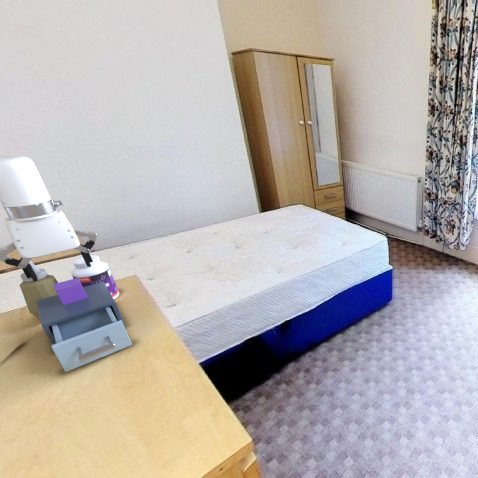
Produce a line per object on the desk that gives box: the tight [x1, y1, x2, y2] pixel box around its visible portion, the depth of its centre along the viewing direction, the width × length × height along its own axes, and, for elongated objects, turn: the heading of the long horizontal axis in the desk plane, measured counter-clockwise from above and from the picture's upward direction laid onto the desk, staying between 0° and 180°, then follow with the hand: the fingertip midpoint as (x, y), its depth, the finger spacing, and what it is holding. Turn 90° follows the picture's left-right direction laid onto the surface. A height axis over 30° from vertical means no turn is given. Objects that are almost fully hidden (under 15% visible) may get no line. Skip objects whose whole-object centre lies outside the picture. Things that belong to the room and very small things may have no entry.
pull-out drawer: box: [51, 307, 133, 373], centre depth 79 cm, size 19×12×7 cm, turn 51°
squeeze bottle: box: [19, 260, 59, 320], centre depth 90 cm, size 8×8×18 cm
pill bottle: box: [71, 254, 120, 300], centre depth 98 cm, size 8×8×14 cm
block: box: [54, 278, 88, 305], centre depth 85 cm, size 5×5×5 cm
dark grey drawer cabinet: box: [36, 282, 127, 345], centre depth 87 cm, size 15×13×9 cm
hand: (63, 272), depth 83 cm, fingers open, 9 cm apart
